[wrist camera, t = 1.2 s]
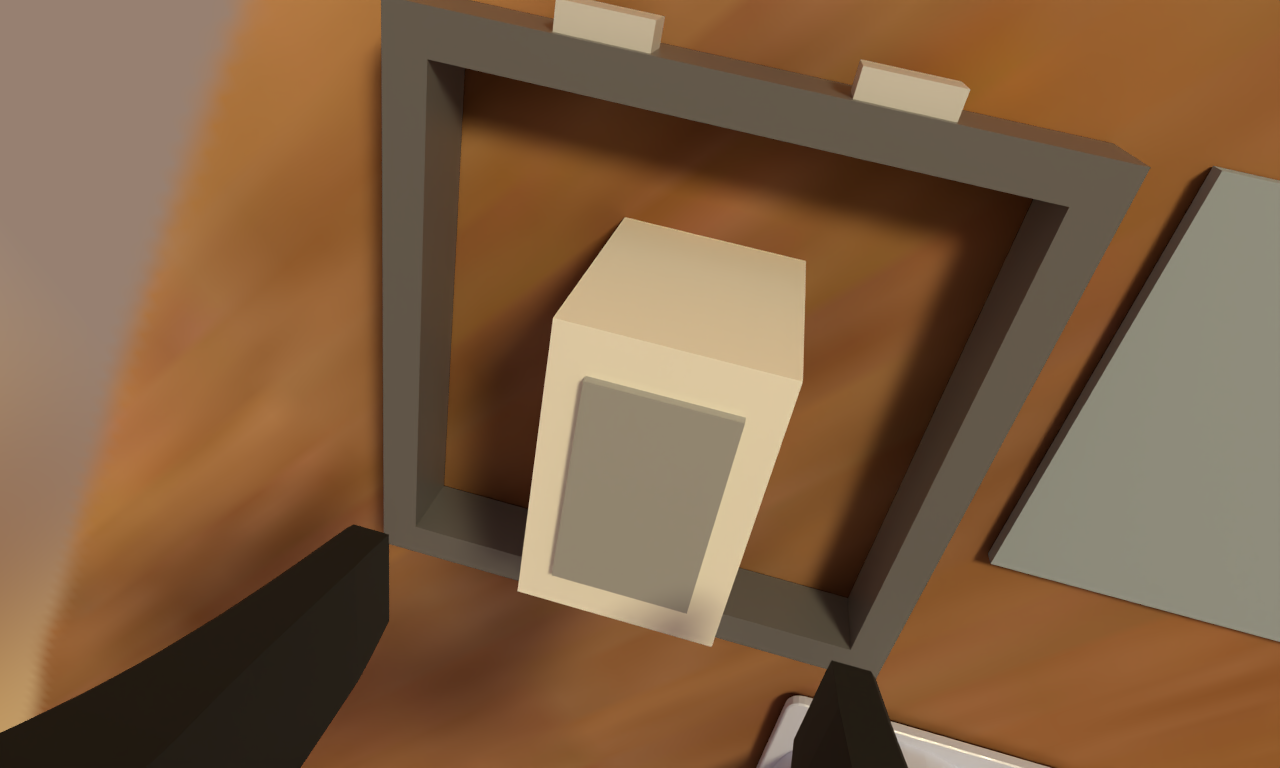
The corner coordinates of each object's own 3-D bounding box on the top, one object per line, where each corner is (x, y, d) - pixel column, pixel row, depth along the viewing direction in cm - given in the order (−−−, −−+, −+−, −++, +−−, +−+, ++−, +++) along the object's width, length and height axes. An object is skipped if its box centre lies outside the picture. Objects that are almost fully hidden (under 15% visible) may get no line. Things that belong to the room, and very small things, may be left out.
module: (805, 260, 18) (802, 386, 13) (735, 483, 22) (710, 654, 16) (625, 216, 18) (549, 322, 13) (586, 443, 22) (514, 597, 17)
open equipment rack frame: (1128, 113, 15) (1168, 134, 13) (869, 629, 23) (873, 682, 22) (425, -41, 16) (381, -40, 15) (413, 501, 24) (383, 542, 23)
